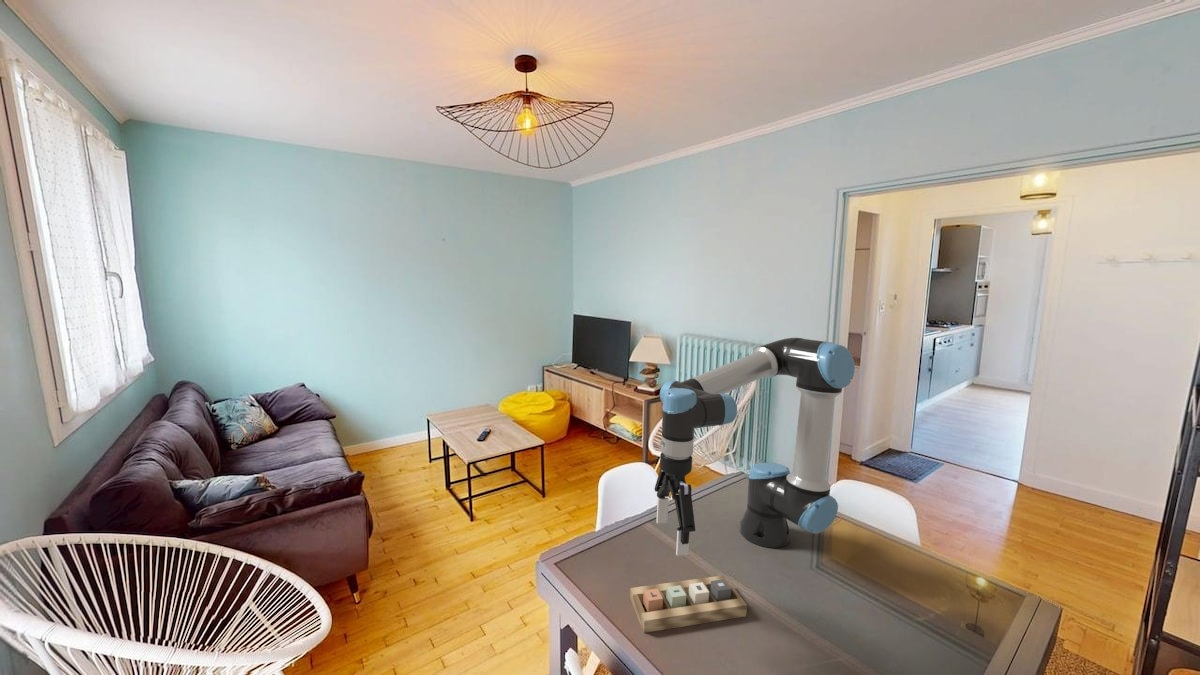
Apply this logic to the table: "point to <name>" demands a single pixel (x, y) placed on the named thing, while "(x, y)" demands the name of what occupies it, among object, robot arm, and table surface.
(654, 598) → the terracotta key
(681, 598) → the sage key
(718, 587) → the charcoal key
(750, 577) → the table surface
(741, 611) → the keypad frame
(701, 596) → the cream key
